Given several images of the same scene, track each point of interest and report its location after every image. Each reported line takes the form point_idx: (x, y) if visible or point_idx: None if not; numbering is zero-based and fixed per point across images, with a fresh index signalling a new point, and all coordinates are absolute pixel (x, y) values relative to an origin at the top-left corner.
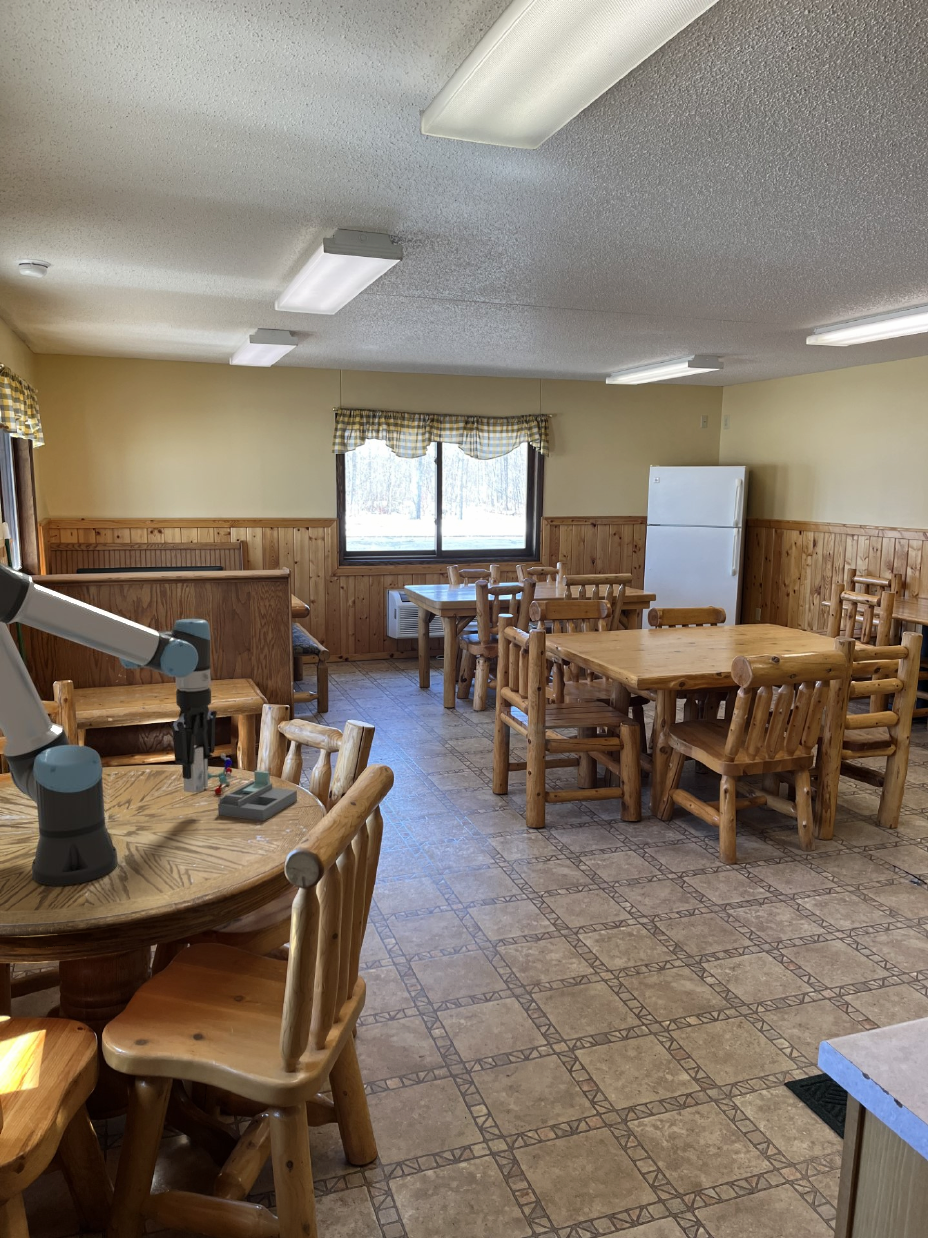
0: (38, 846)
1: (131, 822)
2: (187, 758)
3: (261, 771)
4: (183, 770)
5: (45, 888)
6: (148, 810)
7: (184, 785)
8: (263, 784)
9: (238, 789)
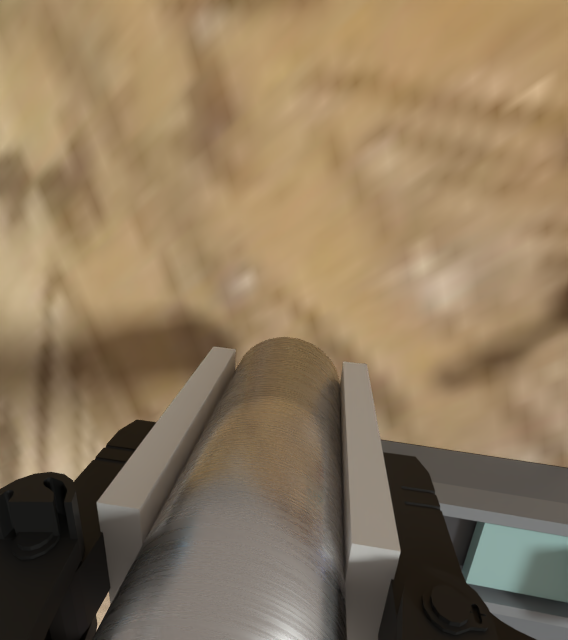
0: None
1: (96, 76)
2: (119, 588)
3: None
4: (85, 482)
5: None
6: (270, 33)
7: (200, 370)
8: None
9: (468, 518)
